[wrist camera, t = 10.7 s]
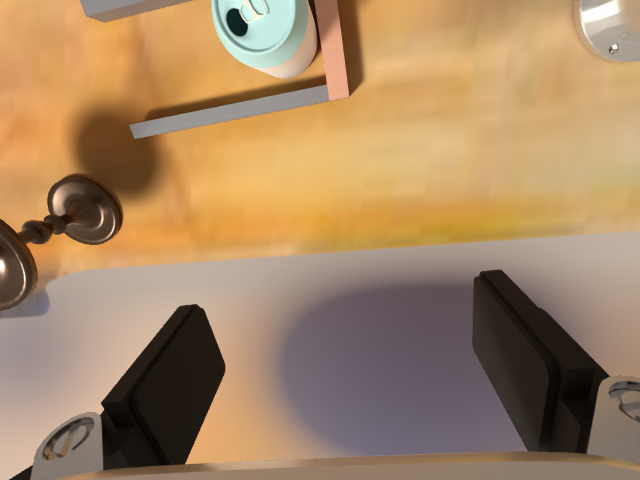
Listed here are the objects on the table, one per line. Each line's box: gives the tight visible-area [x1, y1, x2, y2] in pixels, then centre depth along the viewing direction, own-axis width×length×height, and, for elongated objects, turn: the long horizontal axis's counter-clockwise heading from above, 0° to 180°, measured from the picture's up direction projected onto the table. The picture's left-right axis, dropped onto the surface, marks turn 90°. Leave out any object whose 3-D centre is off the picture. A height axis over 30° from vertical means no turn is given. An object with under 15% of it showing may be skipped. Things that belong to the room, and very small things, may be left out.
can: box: [212, 0, 318, 78], centre depth 26 cm, size 7×7×12 cm
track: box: [80, 0, 349, 139], centre depth 31 cm, size 24×13×3 cm, turn 100°
